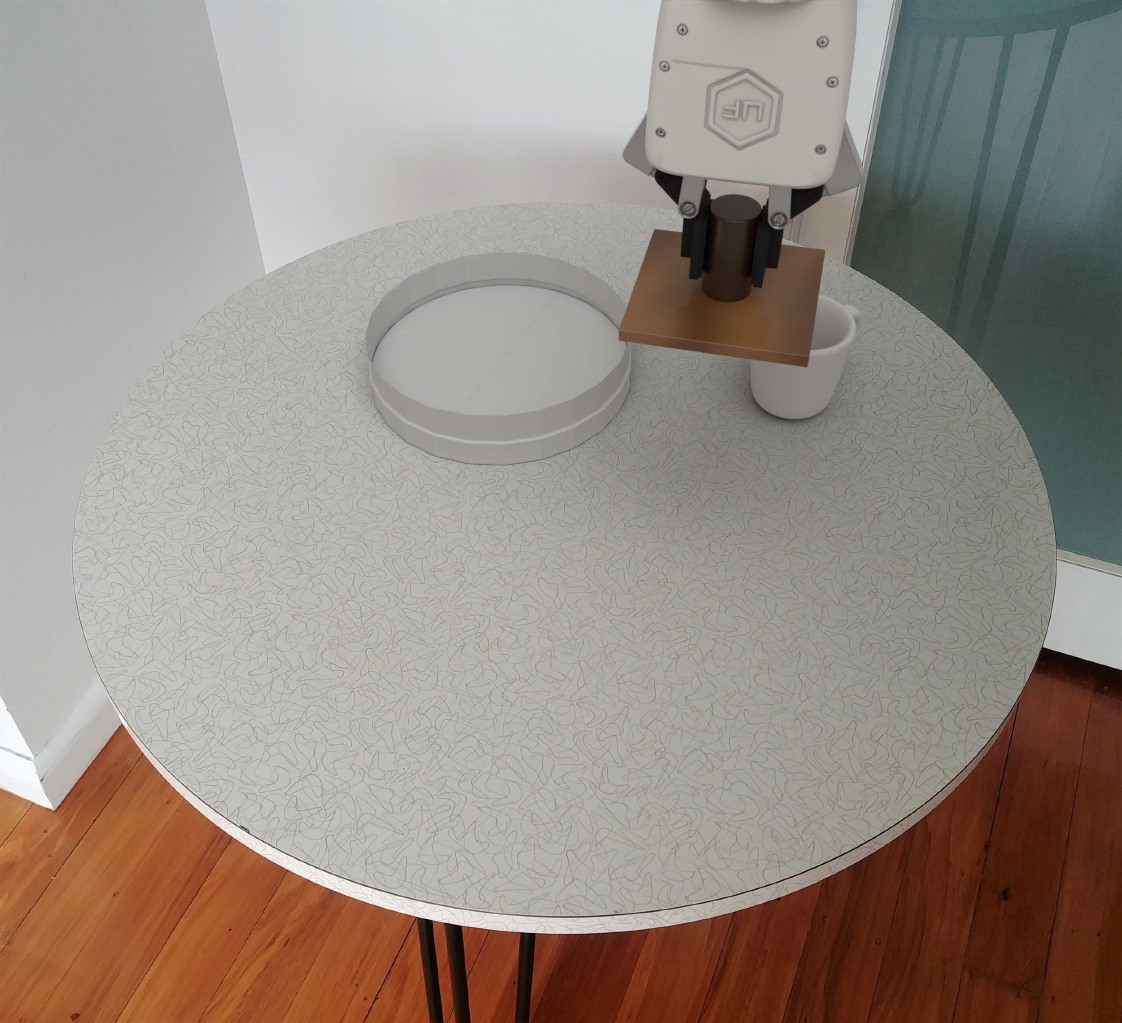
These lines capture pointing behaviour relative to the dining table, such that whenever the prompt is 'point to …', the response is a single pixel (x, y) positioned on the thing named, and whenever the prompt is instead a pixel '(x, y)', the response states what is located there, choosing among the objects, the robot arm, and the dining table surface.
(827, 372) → the cup
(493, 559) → the dining table surface
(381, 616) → the dining table surface
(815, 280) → the square peg stand
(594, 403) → the dish
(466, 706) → the dining table surface
